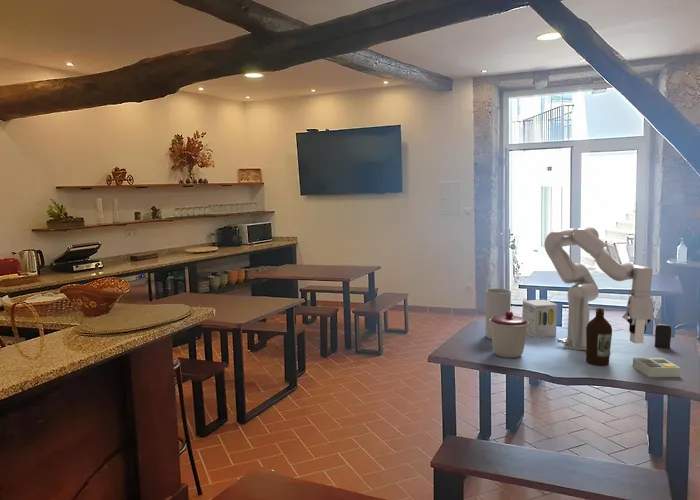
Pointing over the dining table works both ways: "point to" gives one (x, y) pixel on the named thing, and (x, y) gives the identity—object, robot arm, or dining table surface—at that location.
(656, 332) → the battery charger
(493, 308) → the cylinder vase
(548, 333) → the supplement box
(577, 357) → the dining table surface
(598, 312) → the olive oil
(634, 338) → the plug
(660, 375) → the socket block
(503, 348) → the canister
